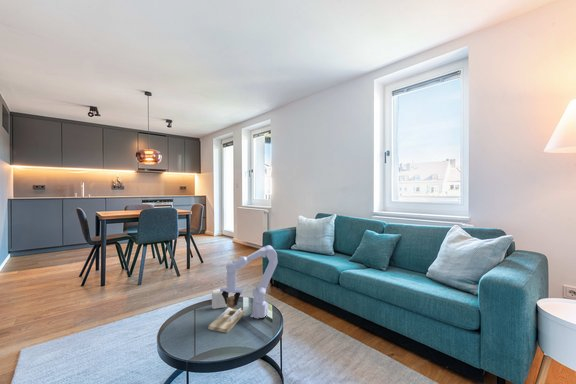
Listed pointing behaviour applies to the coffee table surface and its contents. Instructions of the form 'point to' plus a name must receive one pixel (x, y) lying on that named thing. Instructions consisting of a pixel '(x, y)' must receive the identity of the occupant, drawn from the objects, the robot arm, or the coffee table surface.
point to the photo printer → (218, 299)
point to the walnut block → (231, 302)
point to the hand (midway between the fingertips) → (231, 303)
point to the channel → (232, 315)
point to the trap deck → (226, 321)
